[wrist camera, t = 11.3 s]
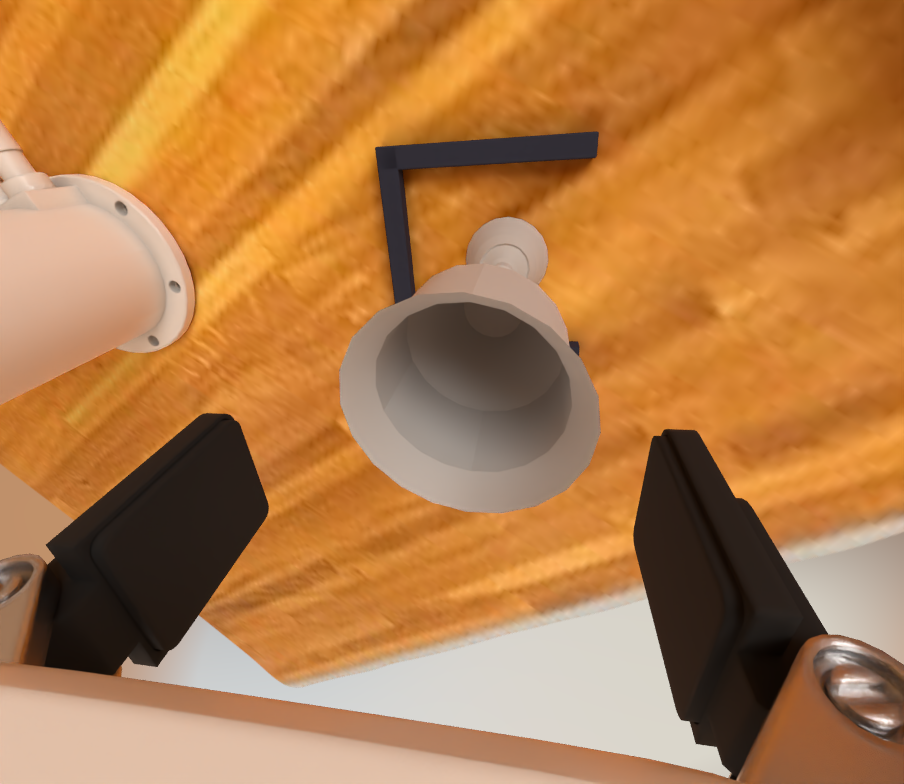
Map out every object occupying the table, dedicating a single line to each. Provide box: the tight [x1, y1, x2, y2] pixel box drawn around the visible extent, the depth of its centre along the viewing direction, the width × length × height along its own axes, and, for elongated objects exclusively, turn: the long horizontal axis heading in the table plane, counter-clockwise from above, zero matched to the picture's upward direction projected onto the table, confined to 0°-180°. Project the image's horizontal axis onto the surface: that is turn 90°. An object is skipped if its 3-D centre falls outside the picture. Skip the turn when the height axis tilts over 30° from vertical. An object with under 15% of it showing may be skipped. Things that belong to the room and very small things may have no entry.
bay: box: [375, 132, 599, 356], centre depth 27 cm, size 12×13×1 cm
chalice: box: [339, 217, 601, 513], centre depth 20 cm, size 7×7×18 cm
